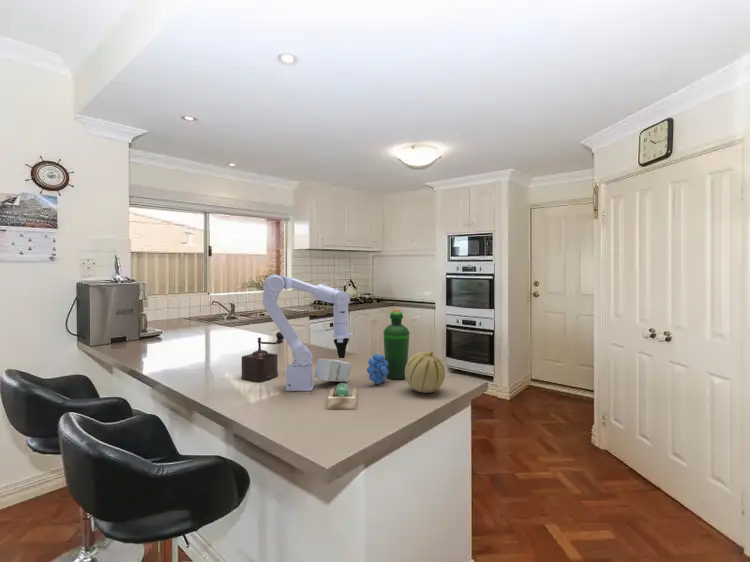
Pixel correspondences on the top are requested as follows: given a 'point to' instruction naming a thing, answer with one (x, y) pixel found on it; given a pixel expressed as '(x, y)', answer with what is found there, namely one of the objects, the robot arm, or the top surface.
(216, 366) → the top surface
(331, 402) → the beech rest
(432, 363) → the cantaloupe
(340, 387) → the green bottle
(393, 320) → the bottle
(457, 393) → the top surface
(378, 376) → the grapes
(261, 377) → the manual coffee grinder
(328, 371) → the supplement box
